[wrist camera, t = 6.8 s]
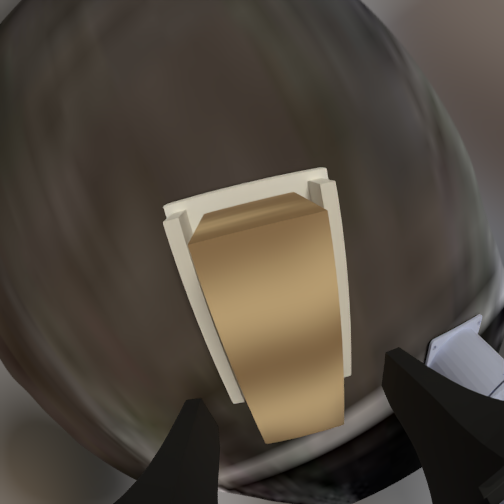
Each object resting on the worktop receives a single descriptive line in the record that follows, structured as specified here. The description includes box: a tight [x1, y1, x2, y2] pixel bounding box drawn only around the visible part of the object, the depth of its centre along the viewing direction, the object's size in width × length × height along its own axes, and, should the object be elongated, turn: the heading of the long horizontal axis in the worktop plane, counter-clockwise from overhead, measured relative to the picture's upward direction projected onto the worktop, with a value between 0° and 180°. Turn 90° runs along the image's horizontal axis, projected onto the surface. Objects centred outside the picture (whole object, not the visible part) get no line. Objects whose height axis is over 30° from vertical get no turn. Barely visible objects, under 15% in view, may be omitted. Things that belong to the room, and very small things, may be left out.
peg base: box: [163, 167, 351, 404], centre depth 16 cm, size 14×9×3 cm, turn 13°
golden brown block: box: [188, 192, 344, 444], centre depth 13 cm, size 12×4×5 cm, turn 13°
